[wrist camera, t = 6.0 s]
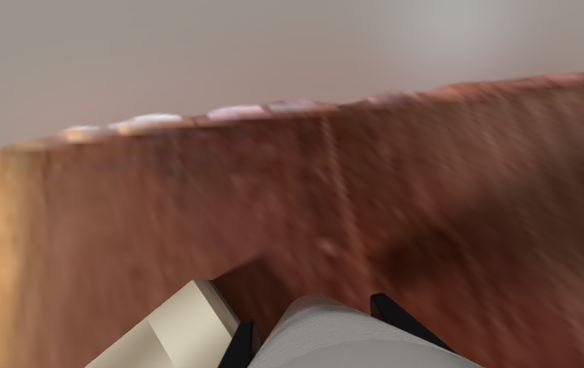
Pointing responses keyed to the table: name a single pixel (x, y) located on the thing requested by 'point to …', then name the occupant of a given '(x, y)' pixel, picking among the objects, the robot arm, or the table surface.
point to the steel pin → (346, 341)
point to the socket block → (177, 333)
